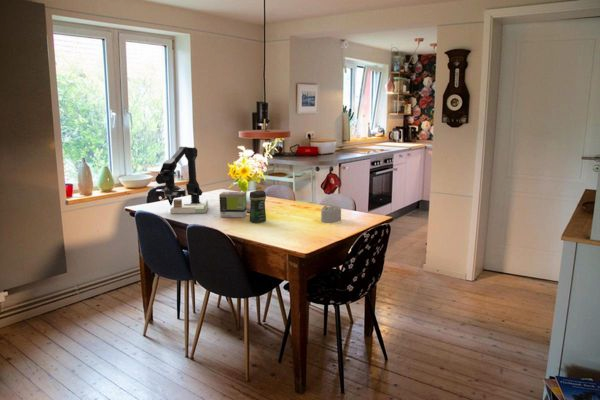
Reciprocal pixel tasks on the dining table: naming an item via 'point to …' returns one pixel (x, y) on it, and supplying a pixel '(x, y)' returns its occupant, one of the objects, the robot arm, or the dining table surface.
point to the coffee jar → (257, 206)
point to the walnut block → (177, 202)
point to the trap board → (190, 209)
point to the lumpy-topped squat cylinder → (330, 214)
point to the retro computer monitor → (233, 204)
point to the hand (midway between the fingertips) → (171, 205)
